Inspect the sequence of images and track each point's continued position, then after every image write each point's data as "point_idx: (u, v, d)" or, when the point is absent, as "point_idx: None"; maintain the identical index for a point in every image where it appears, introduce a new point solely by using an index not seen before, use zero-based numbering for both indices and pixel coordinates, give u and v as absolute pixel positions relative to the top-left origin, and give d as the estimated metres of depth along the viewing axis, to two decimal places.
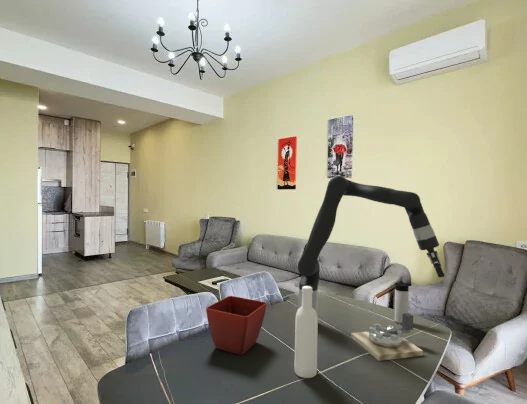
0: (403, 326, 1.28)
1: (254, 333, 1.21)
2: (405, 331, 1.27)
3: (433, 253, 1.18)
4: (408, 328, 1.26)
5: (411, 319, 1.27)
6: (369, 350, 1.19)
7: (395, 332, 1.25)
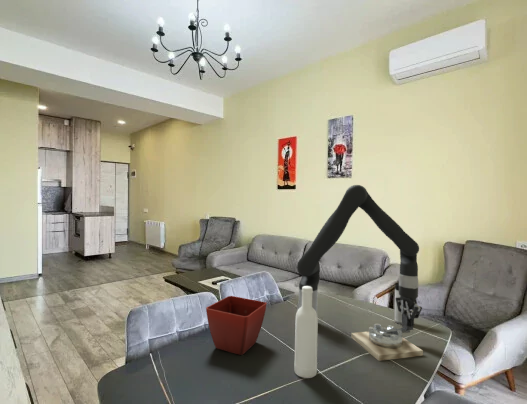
0: (403, 326, 1.28)
1: (254, 333, 1.21)
2: (405, 331, 1.27)
3: (420, 308, 1.22)
4: (408, 328, 1.26)
5: None
6: (369, 350, 1.19)
7: (395, 332, 1.25)
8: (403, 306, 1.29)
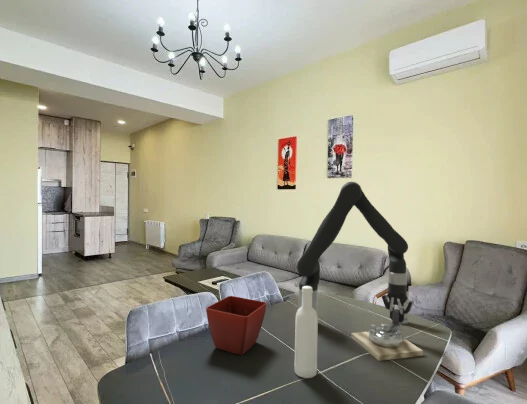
0: (394, 322, 1.32)
1: (254, 333, 1.21)
2: (397, 327, 1.31)
3: (412, 303, 1.28)
4: (399, 323, 1.31)
5: None
6: (369, 350, 1.19)
7: (392, 330, 1.27)
8: (393, 303, 1.33)
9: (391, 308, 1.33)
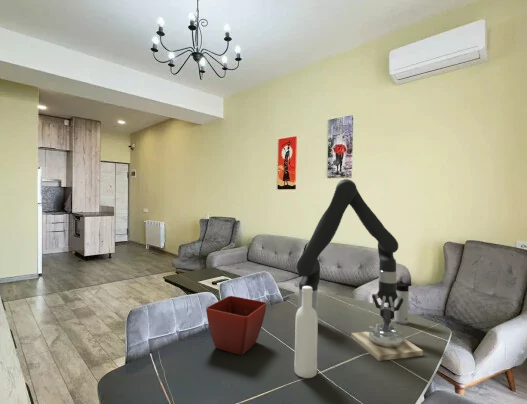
0: (385, 320, 1.34)
1: (254, 333, 1.21)
2: None
3: None
4: (390, 321, 1.34)
5: None
6: (369, 350, 1.19)
7: (388, 329, 1.29)
8: (384, 301, 1.34)
9: (382, 306, 1.35)
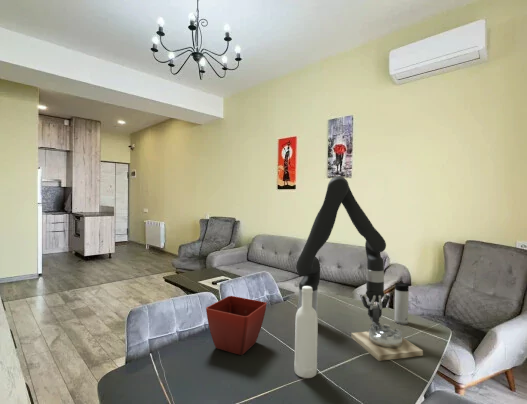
0: (374, 320, 1.35)
1: (254, 333, 1.21)
2: None
3: None
4: None
5: None
6: (369, 350, 1.19)
7: None
8: (374, 301, 1.35)
9: (371, 306, 1.35)
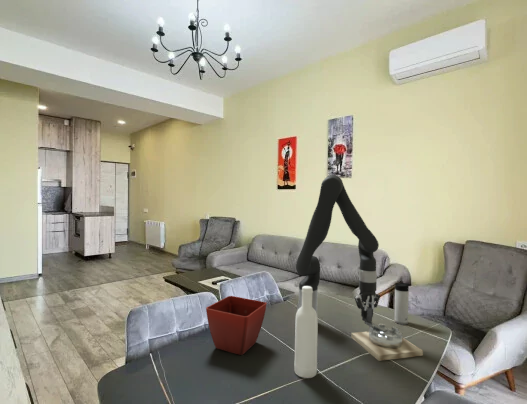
0: (368, 320, 1.34)
1: (254, 333, 1.21)
2: None
3: None
4: None
5: None
6: (369, 350, 1.19)
7: None
8: None
9: (365, 307, 1.34)
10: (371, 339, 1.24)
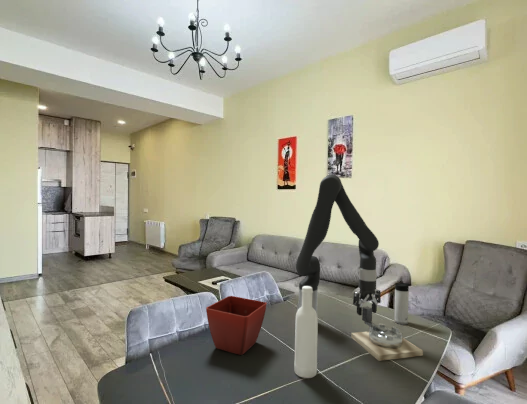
0: (368, 320, 1.34)
1: (254, 333, 1.21)
2: None
3: None
4: None
5: None
6: (369, 350, 1.19)
7: None
8: None
9: (361, 304, 1.33)
10: (371, 339, 1.24)
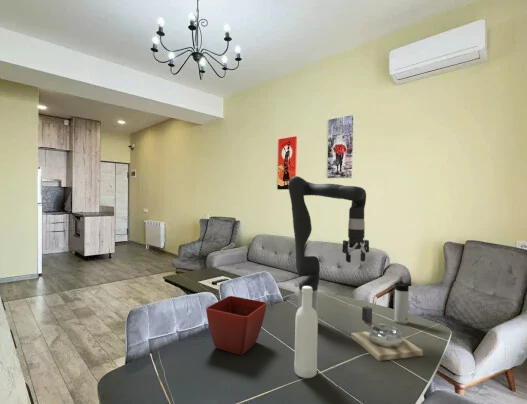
0: (368, 320, 1.34)
1: (254, 333, 1.21)
2: None
3: None
4: None
5: None
6: (369, 350, 1.19)
7: None
8: None
9: (350, 251, 1.40)
10: (371, 339, 1.24)
